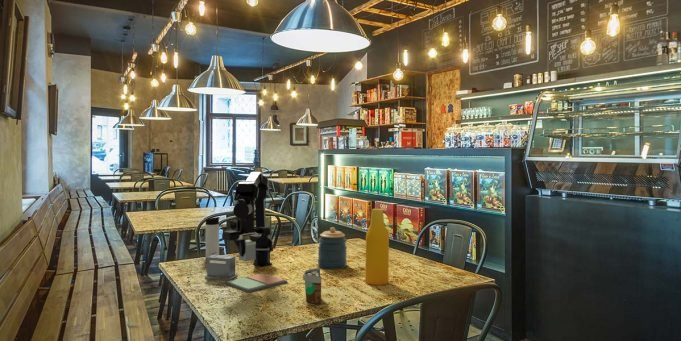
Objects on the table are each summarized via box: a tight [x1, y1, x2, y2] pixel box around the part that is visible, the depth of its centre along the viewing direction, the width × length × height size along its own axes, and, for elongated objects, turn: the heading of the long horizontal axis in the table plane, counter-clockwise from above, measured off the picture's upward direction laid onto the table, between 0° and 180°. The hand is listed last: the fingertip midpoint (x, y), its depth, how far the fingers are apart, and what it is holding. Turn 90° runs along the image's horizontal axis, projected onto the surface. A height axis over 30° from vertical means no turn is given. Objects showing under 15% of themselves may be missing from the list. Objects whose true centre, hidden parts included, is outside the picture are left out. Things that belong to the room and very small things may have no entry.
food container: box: [302, 267, 322, 306], centre depth 161 cm, size 12×6×10 cm, turn 5°
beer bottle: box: [364, 208, 390, 286], centre depth 184 cm, size 9×9×29 cm
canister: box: [317, 226, 348, 270], centre depth 210 cm, size 13×13×18 cm
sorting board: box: [224, 272, 288, 293], centre depth 182 cm, size 18×16×1 cm
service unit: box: [204, 254, 239, 281], centre depth 190 cm, size 7×11×8 cm, turn 76°
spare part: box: [238, 239, 256, 262], centre depth 178 cm, size 5×5×7 cm
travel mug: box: [205, 216, 220, 260], centre depth 223 cm, size 6×7×20 cm
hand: (247, 255), depth 178 cm, fingers closed on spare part, 4 cm apart
